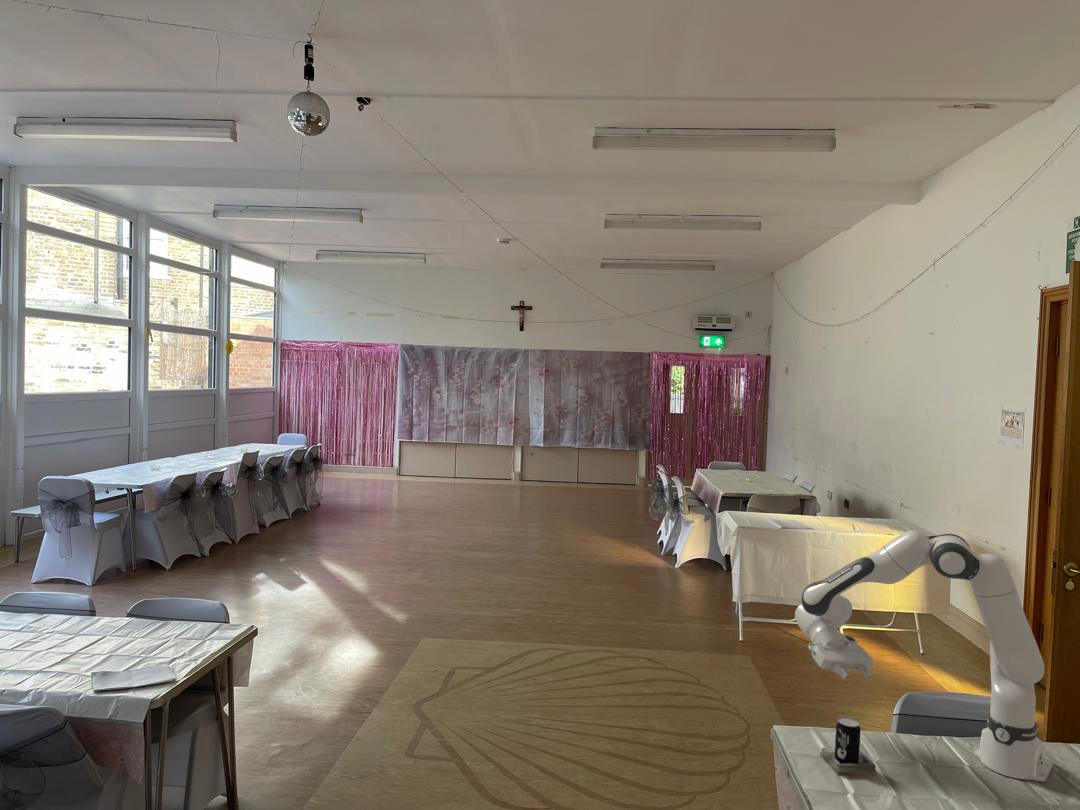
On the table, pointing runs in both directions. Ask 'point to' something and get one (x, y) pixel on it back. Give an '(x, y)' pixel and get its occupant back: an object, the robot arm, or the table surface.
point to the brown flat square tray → (861, 768)
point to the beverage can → (847, 741)
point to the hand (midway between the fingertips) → (858, 677)
